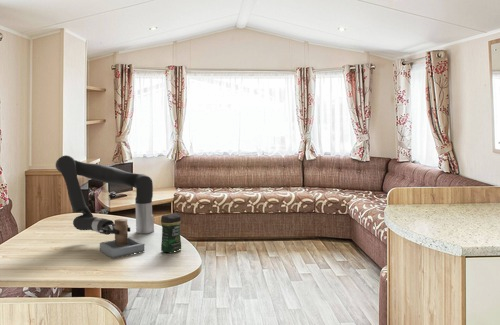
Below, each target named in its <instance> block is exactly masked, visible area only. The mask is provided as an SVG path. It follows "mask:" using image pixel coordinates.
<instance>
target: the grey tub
mask: <svg viewBox="0 0 500 325" xmlns="http://www.w3.org/2000/svg"><path fill="white" fill-rule="evenodd" d="M145 250H146V249H145V243H143V242H141V241H139V240H138V239H135V238H133V237H131V236H129V237H128V244H127V245H125V246H116V245H115V239H113V240H108V241H104V242H99V251H100V252H101V253H102V254H104V255H106V256H107V257H109V258H111V259H113V260H114V259H118V257H119V258H123V257H127V255H128V256H132V255H131V254H133V255H135V254H134V253H137V254H140V253H139V252H142V253H144V252H143V251H145ZM122 256H123V257H122Z"/></svg>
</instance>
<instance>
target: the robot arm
mask: <svg viewBox="0 0 500 325" xmlns="http://www.w3.org/2000/svg"><path fill="white" fill-rule="evenodd" d="M55 169H56V170H57V171H58V172H59V173H60V174H61V175H62V177H63V179H64V182H65V185H66V190H67V194H68V199H69V202H70V206H71V209H72V211H73V212H75V213H77V212H79V213H80V212H81V214H82V215H78V216H76V217H74V219H73V221H72V224H73V227H74V228H75V229H76V230H79V231H92V232H96V233H99V234H103V235H115V234H116V235H119V230H116V229H115V222H114V221H113V220H111V219H109V218H108V219H107V218H104V217H97V216H94V215H93V213H92V212H91V210H90V209H89V207H88V206H87V204H86V200H85V197H84V193H83V192H82V188H81V184H80V181H79V177H78V176H80V177H85V178H88V179H90V180H94V181H97V182H102V183H106V184H112V185H114V184H115V185H124V186H125V185H126V186H129V187H131V188H134V189H135V190H136V191H135V193H136V194H135V233H136V234H150V233H153V232H155V215H154V214H153V197H154V196H153V195H154V194H153V193H154V185H153V179H152V178H151V177H150V176H149V175H146V174H142V173H135V172H128V171H125V170H123V169H119V168H118V167H113V166H110V165H109V166H108V165H107V164H106V165H105V164H100V163H99V164H98V163H90V162H89V163H88V162H83V161H80V160H76V159H74V158H73V157H72V156H70V155H62V156H60V157H59V158H58V159H57V160H56V162H55ZM127 230H128V233H130V232H131V227H130V226H129V225H128V224H127Z"/></svg>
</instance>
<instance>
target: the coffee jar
mask: <svg viewBox="0 0 500 325" xmlns="http://www.w3.org/2000/svg"><path fill="white" fill-rule="evenodd" d="M160 219H161V220H160V224H161V230H162V232H161V244H160V245H161V247H160V251H161V252H162V251H163V253H164V252H173V253H175V252H174V251H177V250H179V249H181V250H182V241H181V223H182V217H181V214H180V213H177V212H172V213H169V214H163V215H161V218H160ZM177 252H178V251H177Z"/></svg>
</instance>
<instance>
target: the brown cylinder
mask: <svg viewBox="0 0 500 325" xmlns="http://www.w3.org/2000/svg"><path fill="white" fill-rule="evenodd" d="M113 222H114V224H115V229H116V230H119V235H116V234H114V240H115V245H116V246H125V245H127V244H128V238H129V237H128V236H129V235H128V233H129V232H128V230H127V225H128V219H126V218H118V219H115V220H114V221H113Z"/></svg>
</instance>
